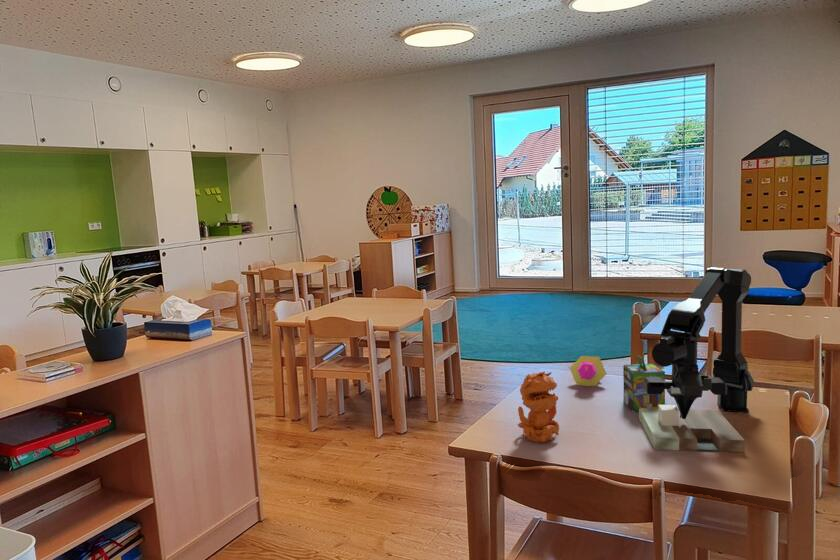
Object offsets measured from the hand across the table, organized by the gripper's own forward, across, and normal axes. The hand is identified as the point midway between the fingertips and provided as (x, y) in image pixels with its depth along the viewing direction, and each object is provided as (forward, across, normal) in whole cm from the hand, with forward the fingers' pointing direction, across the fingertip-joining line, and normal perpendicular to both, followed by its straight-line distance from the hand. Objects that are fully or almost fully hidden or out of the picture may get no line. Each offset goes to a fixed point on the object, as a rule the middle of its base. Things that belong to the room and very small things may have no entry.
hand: (683, 418), depth 152 cm
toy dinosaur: (+4, -36, -5) cm, 36 cm away
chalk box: (+4, -6, +20) cm, 21 cm away
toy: (+4, -19, +41) cm, 45 cm away
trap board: (+4, +1, 0) cm, 4 cm away
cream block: (+1, -4, 0) cm, 4 cm away
